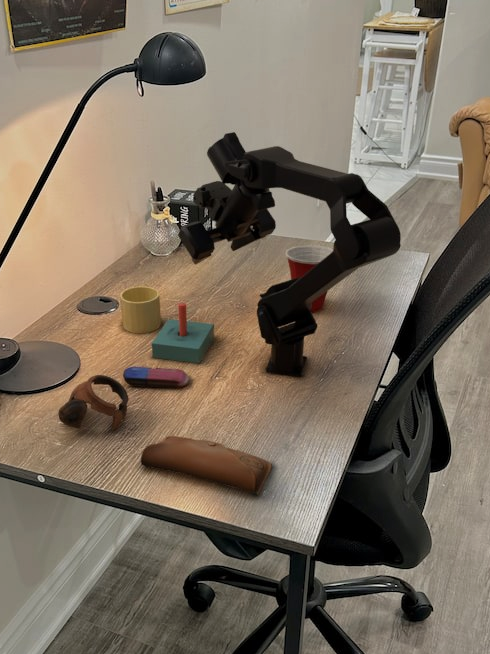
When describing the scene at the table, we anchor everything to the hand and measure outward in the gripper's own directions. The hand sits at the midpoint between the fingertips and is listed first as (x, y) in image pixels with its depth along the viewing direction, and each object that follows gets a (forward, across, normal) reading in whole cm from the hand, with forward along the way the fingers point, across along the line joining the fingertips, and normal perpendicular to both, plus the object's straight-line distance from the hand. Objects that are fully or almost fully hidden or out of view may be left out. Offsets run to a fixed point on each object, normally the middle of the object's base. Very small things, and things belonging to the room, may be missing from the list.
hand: (213, 255), depth 138 cm
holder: (+7, +12, +12) cm, 19 cm away
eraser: (+2, +23, +18) cm, 29 cm away
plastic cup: (+7, -18, +15) cm, 24 cm away
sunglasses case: (-12, +30, +38) cm, 50 cm away
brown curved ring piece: (0, +38, +21) cm, 43 cm away
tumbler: (+15, +13, +2) cm, 20 cm away
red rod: (+7, +12, +12) cm, 19 cm away
